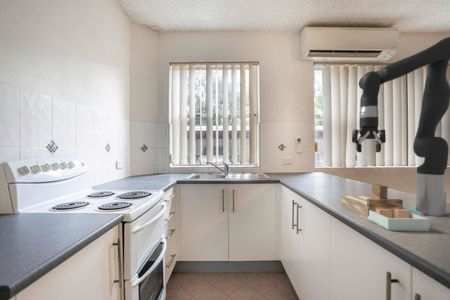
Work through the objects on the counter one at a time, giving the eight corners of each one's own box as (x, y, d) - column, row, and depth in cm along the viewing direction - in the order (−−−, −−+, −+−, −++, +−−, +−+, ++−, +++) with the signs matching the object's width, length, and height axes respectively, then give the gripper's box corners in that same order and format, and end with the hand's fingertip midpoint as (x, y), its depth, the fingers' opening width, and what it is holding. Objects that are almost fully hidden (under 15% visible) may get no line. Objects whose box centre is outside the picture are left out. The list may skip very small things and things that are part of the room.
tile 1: (387, 208, 93) (391, 210, 91) (387, 220, 93) (391, 222, 91) (376, 208, 92) (379, 210, 90) (375, 220, 92) (379, 222, 90)
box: (403, 220, 95) (404, 210, 95) (429, 230, 83) (429, 219, 83) (367, 219, 95) (367, 209, 95) (388, 230, 83) (388, 218, 83)
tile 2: (405, 209, 93) (410, 210, 91) (405, 220, 93) (409, 222, 91) (394, 209, 92) (398, 210, 90) (394, 220, 92) (398, 222, 90)
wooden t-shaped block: (391, 203, 102) (391, 184, 102) (402, 207, 95) (403, 187, 95) (360, 203, 102) (360, 184, 102) (369, 207, 95) (369, 186, 95)
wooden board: (370, 206, 117) (370, 196, 117) (403, 220, 95) (404, 207, 95) (341, 206, 117) (341, 195, 117) (367, 219, 95) (368, 207, 95)
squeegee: (367, 198, 131) (387, 199, 130) (367, 201, 131) (387, 202, 130) (401, 214, 102) (427, 214, 101) (401, 218, 102) (426, 218, 101)
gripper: (379, 118, 116) (378, 152, 116) (349, 117, 115) (348, 152, 116) (389, 116, 108) (389, 152, 108) (358, 115, 108) (357, 152, 108)
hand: (368, 152), depth 112 cm, fingers open, 8 cm apart
